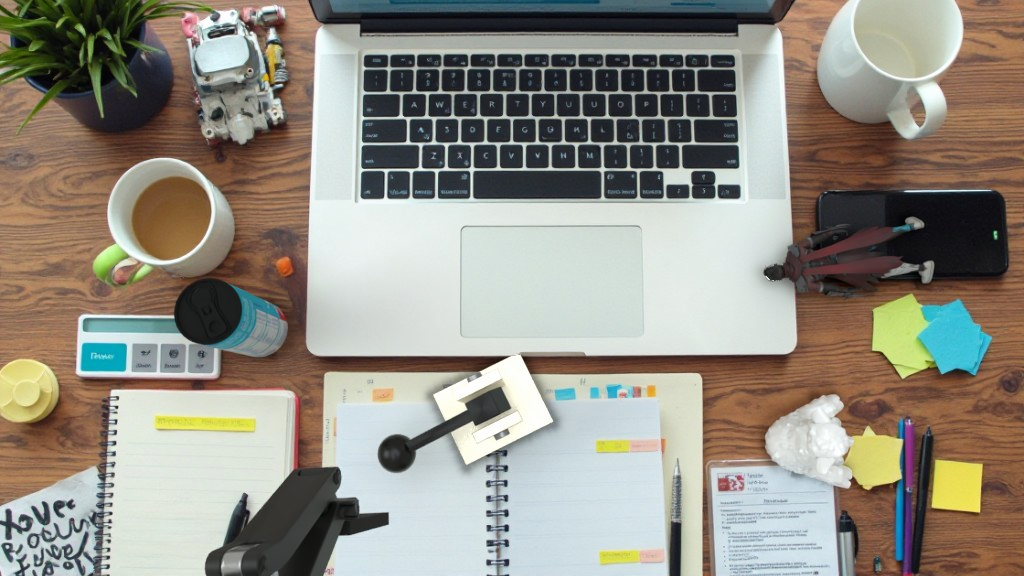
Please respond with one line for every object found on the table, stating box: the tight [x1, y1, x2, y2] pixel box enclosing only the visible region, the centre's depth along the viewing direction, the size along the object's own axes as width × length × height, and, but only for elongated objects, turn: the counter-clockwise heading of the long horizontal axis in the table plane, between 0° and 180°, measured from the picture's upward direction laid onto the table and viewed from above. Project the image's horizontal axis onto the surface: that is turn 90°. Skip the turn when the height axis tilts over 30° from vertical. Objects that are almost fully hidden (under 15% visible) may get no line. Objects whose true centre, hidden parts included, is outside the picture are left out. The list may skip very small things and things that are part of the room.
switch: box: [377, 387, 511, 474], centre depth 70 cm, size 14×4×4 cm, turn 117°
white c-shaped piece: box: [432, 354, 554, 466], centre depth 73 cm, size 10×8×15 cm
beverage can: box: [173, 277, 289, 358], centre depth 75 cm, size 6×6×15 cm
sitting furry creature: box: [764, 393, 855, 490], centre depth 74 cm, size 10×9×12 cm
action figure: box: [762, 216, 935, 301], centre depth 80 cm, size 8×6×18 cm
